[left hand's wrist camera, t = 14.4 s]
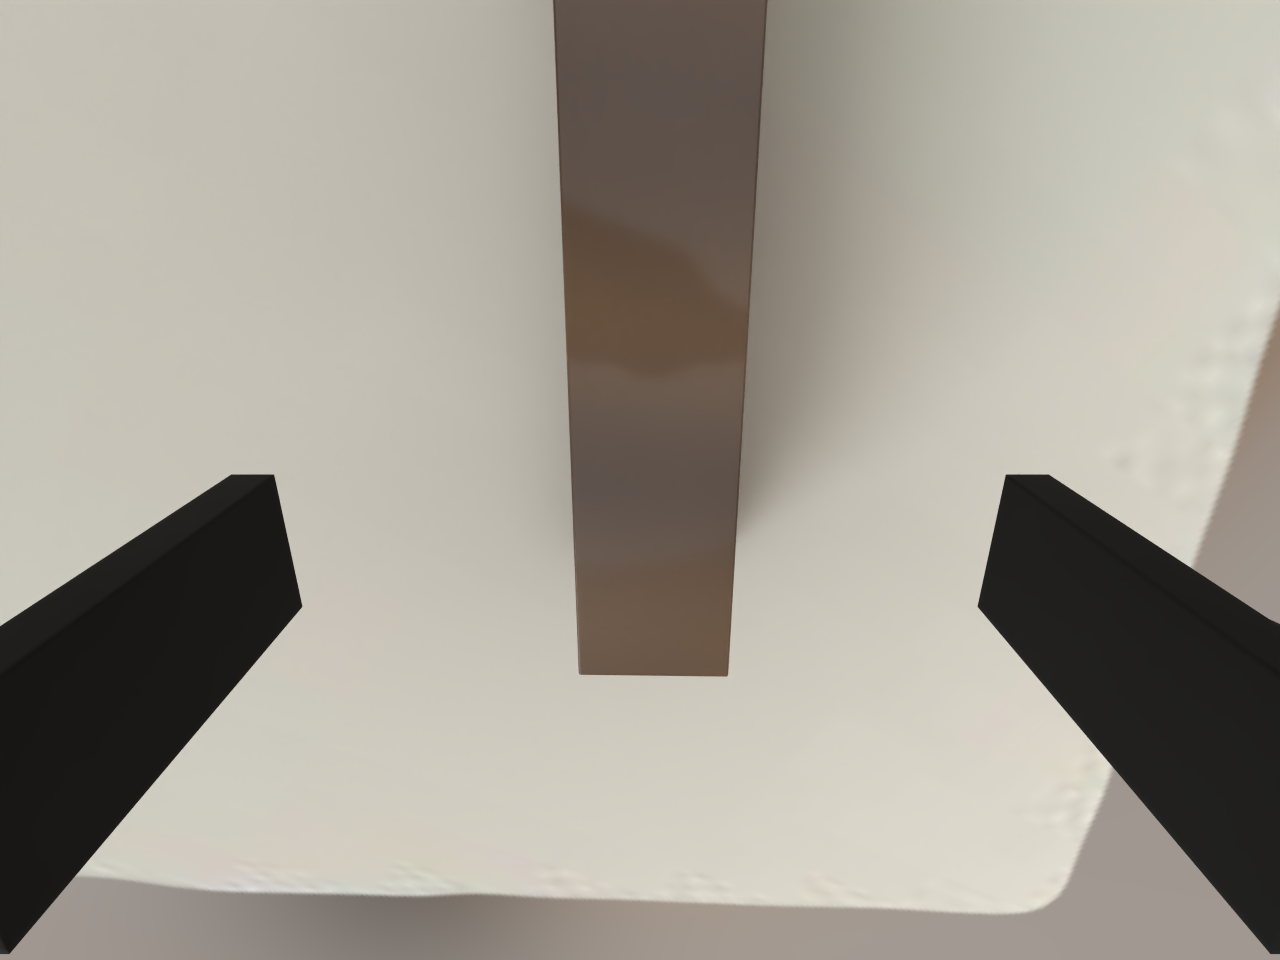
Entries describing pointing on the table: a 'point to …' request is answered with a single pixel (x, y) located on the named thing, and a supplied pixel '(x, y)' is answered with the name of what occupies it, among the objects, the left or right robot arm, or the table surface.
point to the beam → (657, 317)
